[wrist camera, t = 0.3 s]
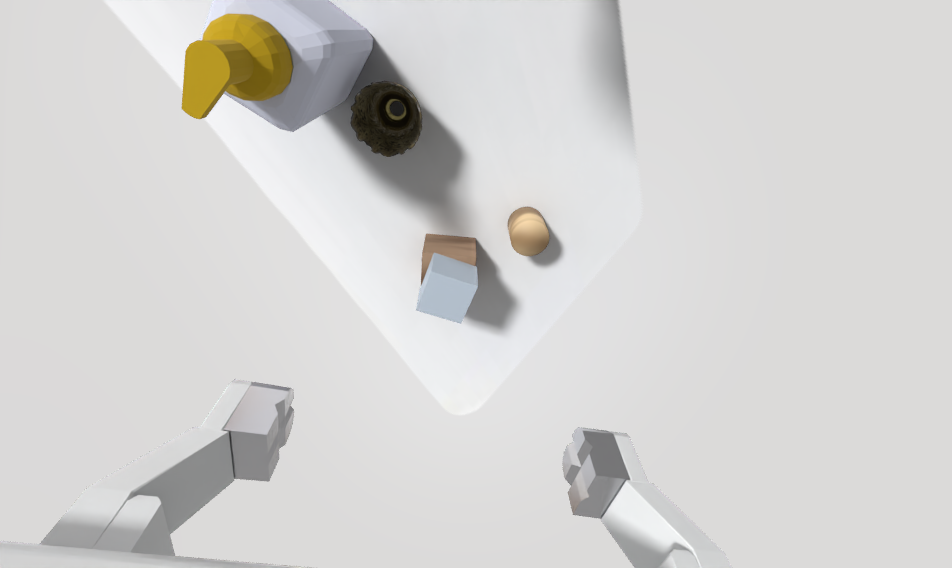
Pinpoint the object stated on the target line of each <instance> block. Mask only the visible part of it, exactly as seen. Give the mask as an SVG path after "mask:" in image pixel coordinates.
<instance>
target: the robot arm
mask: <svg viewBox="0 0 952 568" xmlns="http://www.w3.org/2000/svg"><path fill="white" fill-rule="evenodd" d="M293 398H294V392H293V389H292V388H287V387H281V386H275V385H269V384H263V383H256V382H248V381H242V380H236V379H234V380H233V381H232V382H231V383H230V384H229V385H228V386H227V388H226V389H225V390H224V392H223V394H222V395H221V396H220V398H219V399H218V401H217V402H216V404H215V406H214V407H213V408H212V410H211V412H210V413H209V414H208V416H207V417H206V419H205V420H204V422H203V423H202V425H201V426H200V427H199V428H198V427H193V428H191V429H189V430H187V431H185V432H184V433H182V434H180V435H178V436H177V437H175V438H173V439H171V440H170V441H168V442H166V443H164V444H163V445H161V446H159V447H158V448H156V449H154V450H152V451H150V452H149V453H147V454H145V455H143V456H141V457H140V458H138V459H137V460H135V461H133V462H131V463H129V464H127V465H126V466H124V467H122V468H120V469H119V470H117V471H115V472H113V473H112V474H110V475H108V476H106V477H105V478H103V479H101V480H99V481H98V482H96V483H94V484H92V485H91V486H89V487H87V488H86V489H85V490H84V492H83V493H82V494H81V495H80V496H79V497H78V499H77V500H76V501H75V502H74V504H73V505H72V506H71V507H70V508H69V510H68V511H67V512H66V513H65V514H64V515H63V517H62V518H61V519H60V520H59V521H58V523H57V524H56V525H55V526H54V527H53V529H52V530H51V531H50V532H49V533H48V535H47V536H46V537H45V538H44V539H43V541H42V542H41V543H40V544H29V543H28V544H27V543H17V542H5V541H0V568H308V567H297V566H286V565H273V564H262V563H249V562H239V561H226V560H214V559H203V558H191V557H180V556H175V553H174V549H173V545H172V542H171V538H170V534H171V533H172V532H173V531H175V530H176V529H177V528H178V527H179V526H181V525H182V524H183V523H184V522H185V521H187V520H188V519H189V518H190V517H191V516H193V515H194V514H195V513H196V512H197V511H199V510H200V509H201V508H202V507H203V506H205V504H207V503H208V502H209V501H210V500H212V499H213V498H214V497H215V496H216V495H217V494H219V493H220V492H221V491H222V490H223V489H225V488H226V487H227V486H228V485H230V484H231V483H232V482H233V481H234V479H246V480H258V481H269V480H270V478H271V476H272V474H273V471H274V469H275V467H276V465H277V462H278V460H279V448H281V447H282V446H284V445H285V444H286V442H287V439H288V437H289V434H290V431H291V427H292V424H293V416H294V409H293V408H292V407H291V406H290V405H291V403H292V401H293ZM573 441H574V442H572V443H571V444H569V445H568V446H567V447H566V449H565V452H564V456H563V472H564V477H565V479H566V480H567V481H568V483H569V484H570V485H571V488H570V490H569V491H568V495H569V499H570V504H571V508H572V512H573V515H579V516H586V517H594V518H600V519H601V521H602V522H603V524H604V525H605V527H606V528H607V530H608V531H609V532H610V534H611V535H612V537H613V538H614V539H615V541H616V542H617V543H618V545H619V546H620V548H621V549H622V550H623V552H624V553H625V555H626V556H627V557H628V559H629V560H630V562H631V563H632V564H633V566H634V567H635V568H732V567H731V565H730V563H729V561H728V559H727V557H726V555H725V553H724V552H723V551H722V550H721V549H720V548H719V547H718V546H717V545H716V544H715V543H714V542H713V541H711V539H710V538H709V537H708V536H707V535H706V534H705V533H703V531H701V530H700V529H699V528H698V527H697V526H696V525H695V524H694V523H693V522H692V521H691V520H690V519H689V518H688V517H687V516H686V515H685V514H684V513H683V512H682V511H681V510H680V509H679V508H678V507H677V506H676V505H675V504H674V503H673V502H672V501H671V500H670V499H669V498H668V497H667V496H666V495H665V494H664V493H663V492H662V491H661V490H660V489H659V488H657V486H655V485H654V484H653V483H649V482H648V480H647V477H646V475H645V473H644V470H643V468H642V465H641V463H640V461H639V458H638V456H637V453H636V451H635V448H634V446H633V444H632V441H631V439H630V437H629V436H628V435H627V434H626V433H618V432H609V431H604V430H596V429H588V428H580V427H578V428H577V429H576V430H575V431H574V433H573Z"/></svg>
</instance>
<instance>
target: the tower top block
mask: <svg viewBox="0 0 952 568" xmlns="http://www.w3.org/2000/svg"><path fill="white" fill-rule="evenodd" d="M477 288H478V275H477V267H476V266H473V265H470V264H467V263H464V262H461V261H458V260H455V259H452V258H449V257H446V256H443V255H440V254H437V253H433V256H432V259H431V261H430V264H429V267H428V269H427V272H426V274H425V277H424V280H423V282H422V285H421V288H420V291H419V297H418V303H417V308H416V310H417V311H420V312H424V313H427V314H430V315H434V316H437V317H440V318H443V319H447V320H450V321H453V322H457V323H460V324H461V323H462V320H463V318H464V316H465V314H466V312H467V310H468V307H469V305H470V303H471V301H472V299H473V296H474V294H475V292H476V290H477Z"/></svg>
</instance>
